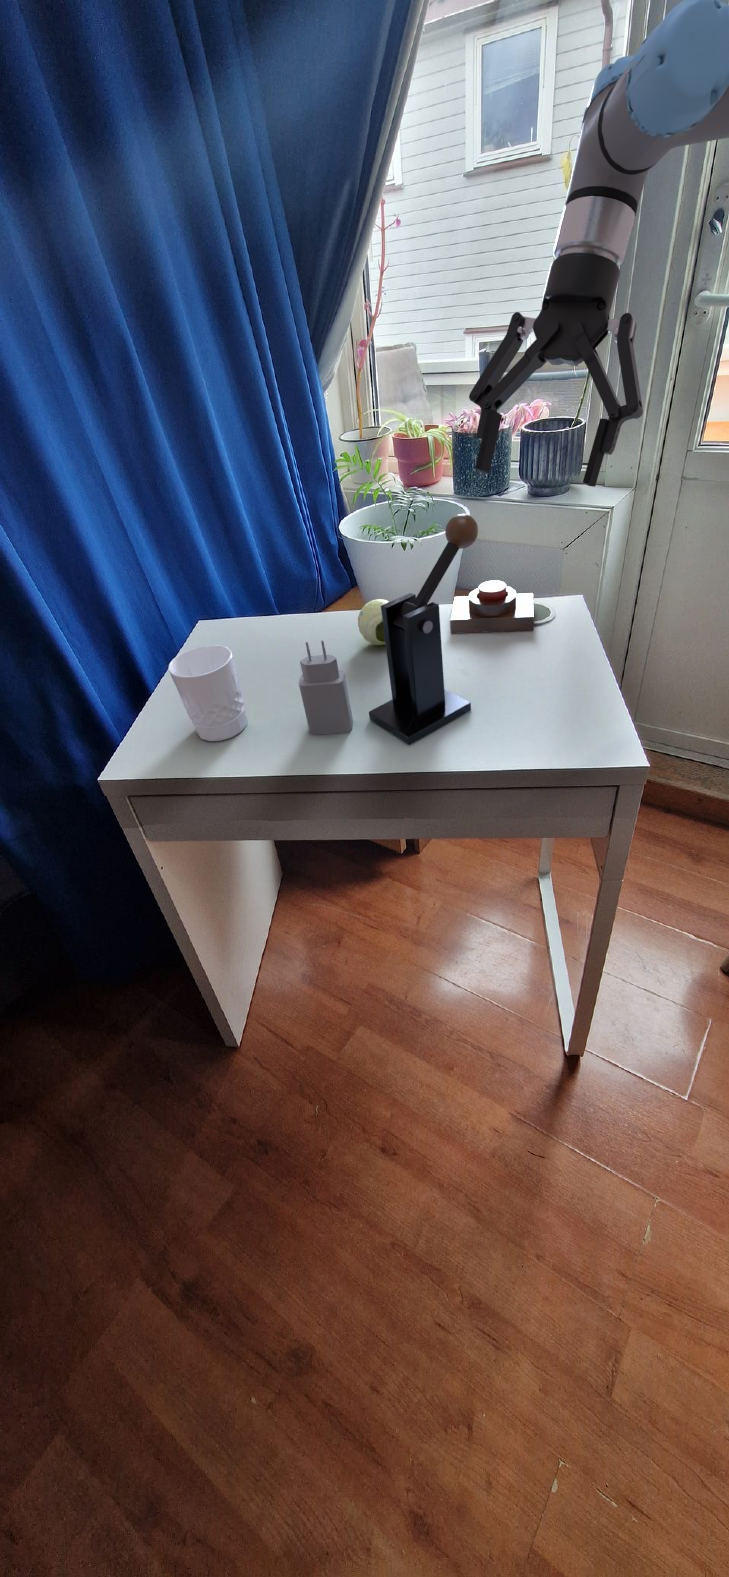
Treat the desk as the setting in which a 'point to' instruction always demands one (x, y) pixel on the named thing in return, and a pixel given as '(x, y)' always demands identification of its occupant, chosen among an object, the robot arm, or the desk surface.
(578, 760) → the desk surface
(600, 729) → the desk surface
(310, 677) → the power adapter
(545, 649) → the desk surface
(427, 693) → the bracket
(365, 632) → the tennis ball
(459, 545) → the lever
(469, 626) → the button block
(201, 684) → the white cup
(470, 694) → the desk surface
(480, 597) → the button
